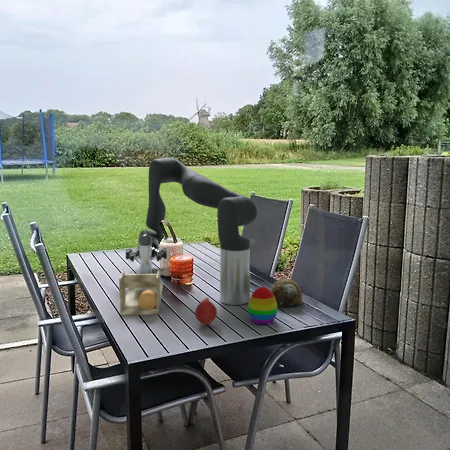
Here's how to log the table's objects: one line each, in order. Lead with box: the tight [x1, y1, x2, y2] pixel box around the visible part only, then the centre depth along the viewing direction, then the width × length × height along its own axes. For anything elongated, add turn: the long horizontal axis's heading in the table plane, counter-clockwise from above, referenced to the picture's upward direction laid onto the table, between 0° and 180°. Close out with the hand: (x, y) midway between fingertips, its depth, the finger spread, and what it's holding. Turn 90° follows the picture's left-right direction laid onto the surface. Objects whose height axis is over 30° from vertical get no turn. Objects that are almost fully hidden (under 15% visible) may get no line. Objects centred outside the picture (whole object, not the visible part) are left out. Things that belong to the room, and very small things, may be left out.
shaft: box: [134, 234, 153, 290], centre depth 150 cm, size 6×13×16 cm, turn 5°
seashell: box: [270, 277, 304, 308], centre depth 143 cm, size 11×9×8 cm
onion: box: [194, 297, 218, 327], centre depth 125 cm, size 6×6×8 cm
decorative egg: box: [247, 286, 278, 325], centre depth 128 cm, size 8×8×10 cm
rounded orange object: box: [138, 290, 157, 310], centre depth 134 cm, size 5×5×4 cm
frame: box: [118, 270, 164, 316], centre depth 145 cm, size 11×26×11 cm, turn 5°
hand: (145, 258), depth 154 cm, fingers open, 8 cm apart
